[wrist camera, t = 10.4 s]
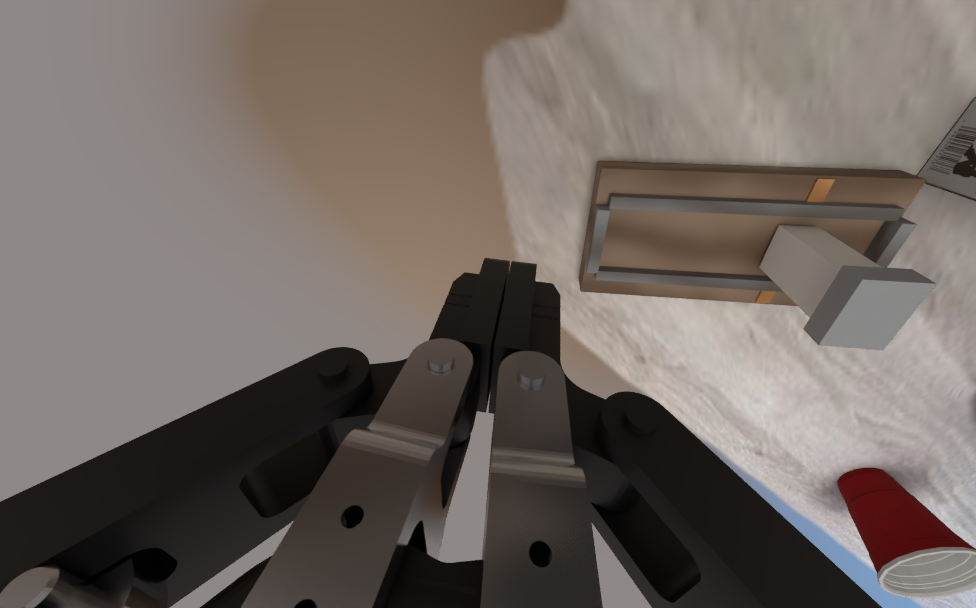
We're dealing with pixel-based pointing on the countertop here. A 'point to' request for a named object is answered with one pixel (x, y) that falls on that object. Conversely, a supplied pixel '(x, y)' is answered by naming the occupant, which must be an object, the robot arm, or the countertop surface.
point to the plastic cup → (906, 538)
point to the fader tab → (842, 288)
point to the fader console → (729, 224)
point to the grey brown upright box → (955, 158)
